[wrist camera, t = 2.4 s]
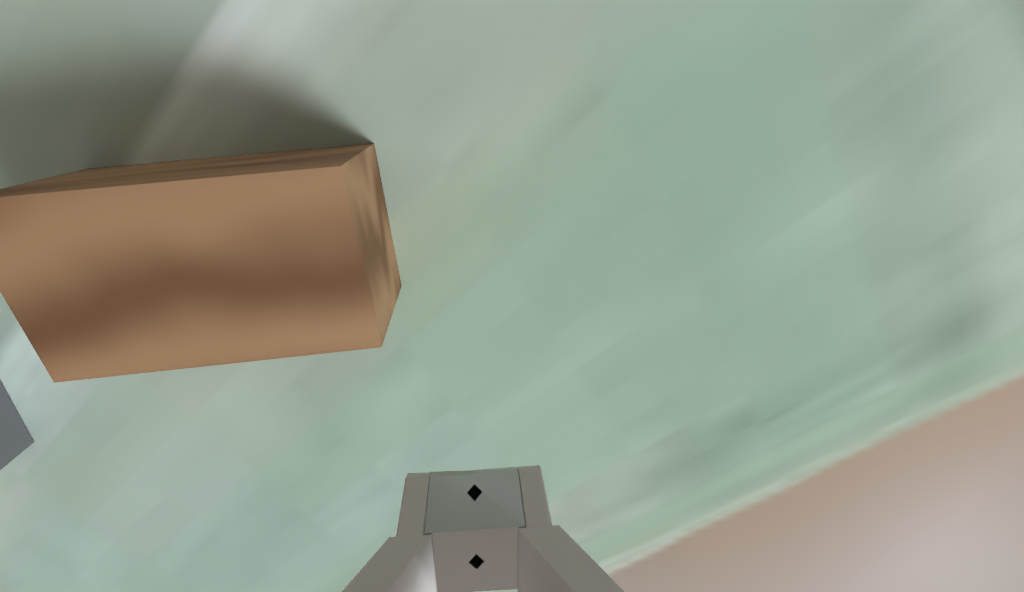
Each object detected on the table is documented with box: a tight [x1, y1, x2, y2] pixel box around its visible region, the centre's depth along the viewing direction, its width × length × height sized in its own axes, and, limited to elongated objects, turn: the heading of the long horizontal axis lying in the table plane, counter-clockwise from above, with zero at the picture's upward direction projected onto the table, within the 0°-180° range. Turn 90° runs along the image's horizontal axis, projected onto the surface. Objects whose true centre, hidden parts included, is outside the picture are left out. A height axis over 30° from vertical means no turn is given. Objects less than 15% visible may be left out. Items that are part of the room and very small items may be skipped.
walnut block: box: [0, 144, 401, 382], centre depth 25 cm, size 9×16×8 cm, turn 94°
